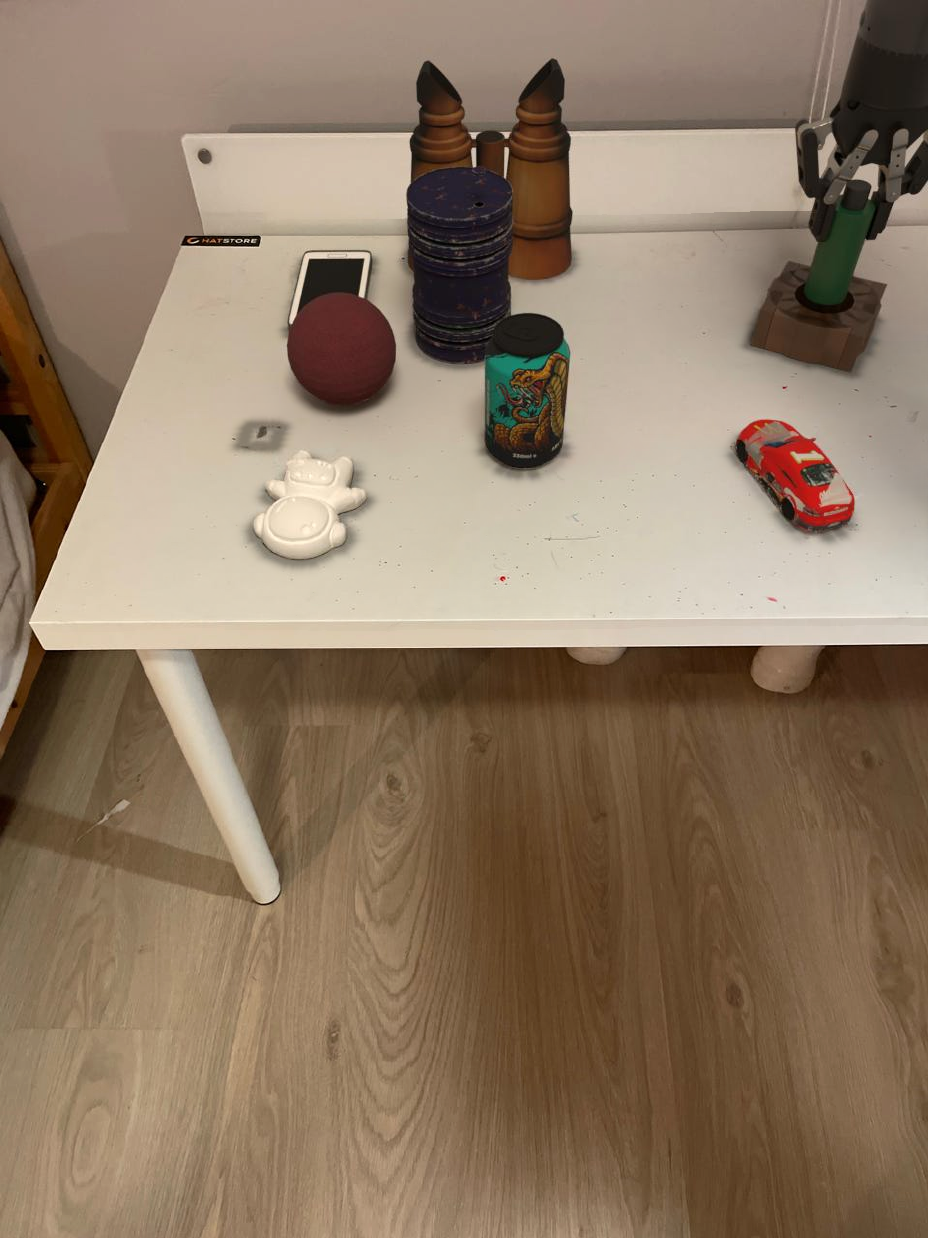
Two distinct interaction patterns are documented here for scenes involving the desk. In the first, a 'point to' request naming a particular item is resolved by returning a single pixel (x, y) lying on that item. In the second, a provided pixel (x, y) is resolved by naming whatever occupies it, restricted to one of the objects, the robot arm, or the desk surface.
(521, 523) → the desk surface
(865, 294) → the ashtray
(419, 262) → the dark blue cylinder
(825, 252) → the bottle
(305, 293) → the cell phone
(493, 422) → the beverage can
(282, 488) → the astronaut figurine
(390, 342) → the decorative ball
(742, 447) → the race car
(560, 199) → the binoculars
